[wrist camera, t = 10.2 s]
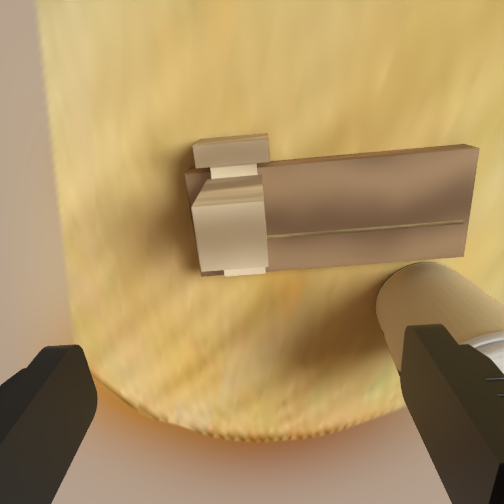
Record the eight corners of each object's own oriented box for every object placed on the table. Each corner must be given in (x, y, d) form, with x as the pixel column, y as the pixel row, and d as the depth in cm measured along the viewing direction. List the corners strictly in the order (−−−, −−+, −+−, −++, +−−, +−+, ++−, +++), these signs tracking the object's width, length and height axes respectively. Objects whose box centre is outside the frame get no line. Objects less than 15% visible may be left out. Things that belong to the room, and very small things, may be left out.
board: (189, 168, 28) (184, 174, 26) (464, 144, 27) (479, 148, 25) (204, 265, 31) (201, 276, 29) (451, 246, 30) (463, 256, 28)
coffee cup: (344, 321, 33) (387, 436, 22) (408, 232, 30) (498, 317, 19) (429, 360, 35) (510, 487, 24) (500, 281, 31) (632, 385, 20)
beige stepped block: (200, 139, 27) (171, 163, 18) (267, 133, 26) (272, 155, 18) (216, 259, 30) (200, 328, 22) (275, 254, 30) (283, 322, 21)
